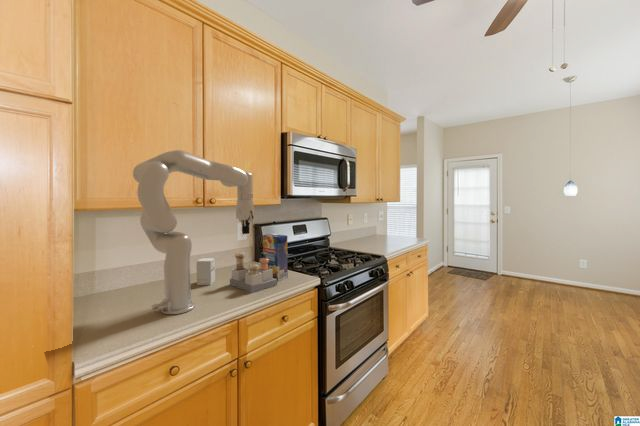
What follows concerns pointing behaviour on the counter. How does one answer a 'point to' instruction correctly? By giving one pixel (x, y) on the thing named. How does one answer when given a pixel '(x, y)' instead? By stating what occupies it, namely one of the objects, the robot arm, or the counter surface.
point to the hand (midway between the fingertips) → (245, 233)
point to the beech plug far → (240, 261)
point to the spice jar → (253, 269)
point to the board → (252, 280)
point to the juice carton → (276, 254)
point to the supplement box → (205, 271)
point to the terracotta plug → (264, 263)
